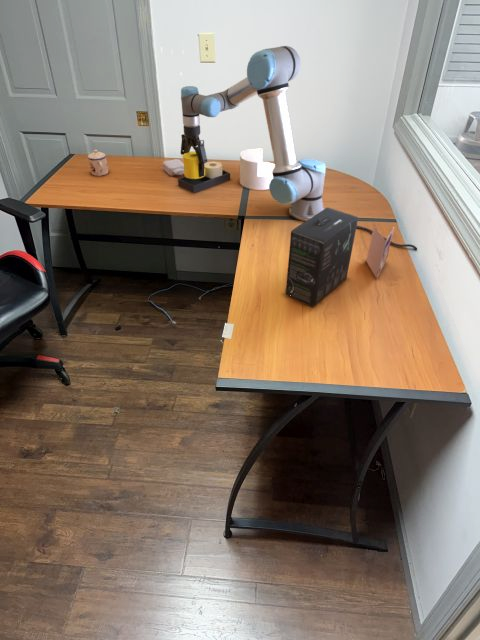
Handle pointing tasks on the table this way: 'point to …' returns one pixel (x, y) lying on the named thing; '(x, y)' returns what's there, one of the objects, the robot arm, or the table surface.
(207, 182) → the rack
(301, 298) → the headset box
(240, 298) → the table surface
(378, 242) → the greeting card
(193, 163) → the tape roll
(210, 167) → the paper roll
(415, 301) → the table surface
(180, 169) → the charger
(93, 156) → the teacup with lid
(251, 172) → the white notched cylinder
